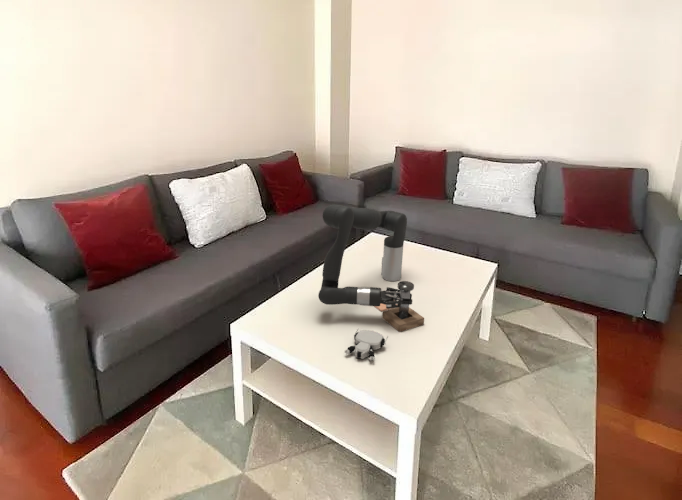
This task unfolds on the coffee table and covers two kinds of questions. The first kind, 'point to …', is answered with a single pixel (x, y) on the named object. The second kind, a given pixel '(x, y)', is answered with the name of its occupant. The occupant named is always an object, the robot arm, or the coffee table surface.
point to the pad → (382, 307)
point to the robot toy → (366, 343)
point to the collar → (402, 324)
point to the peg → (404, 293)
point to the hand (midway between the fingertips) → (411, 298)
